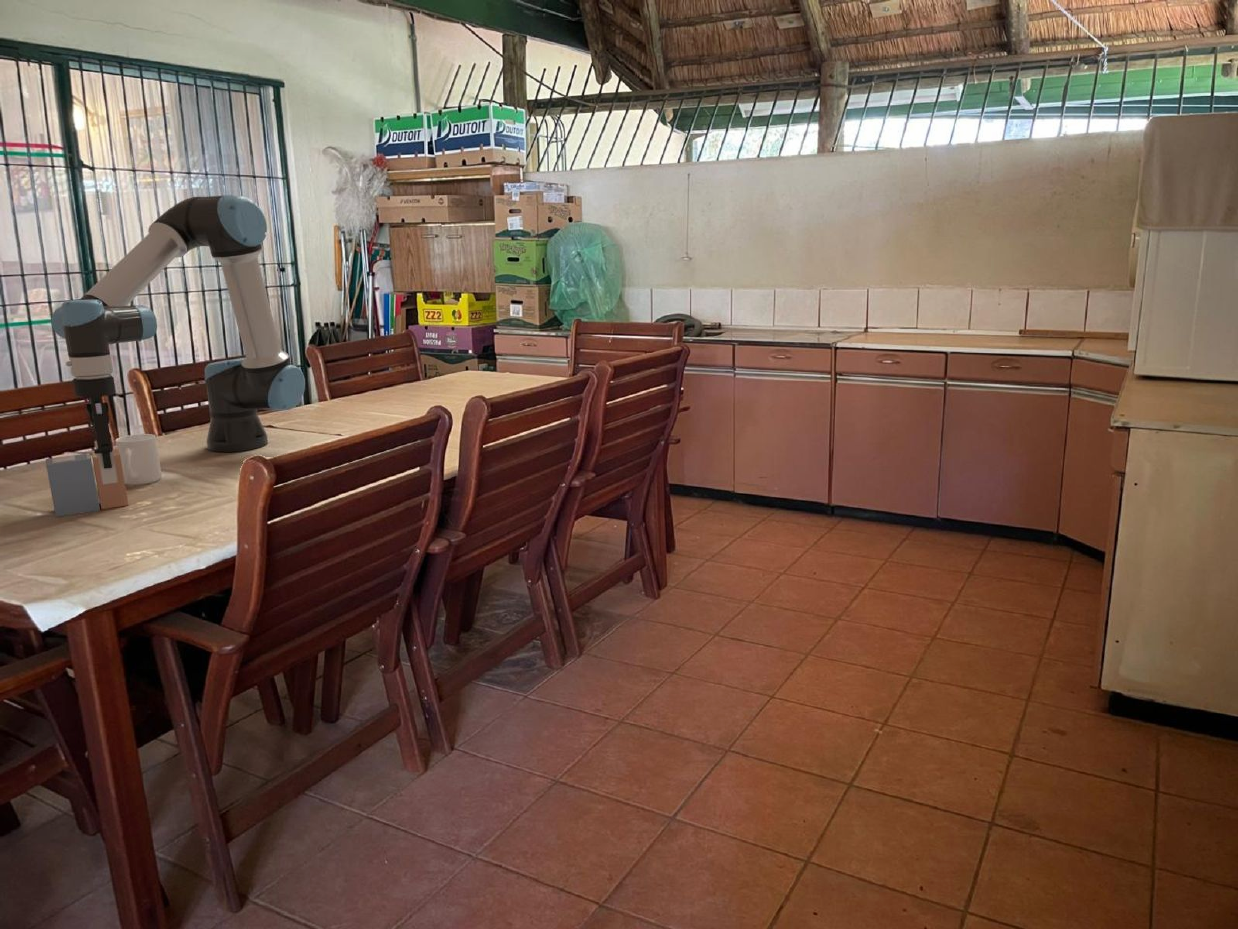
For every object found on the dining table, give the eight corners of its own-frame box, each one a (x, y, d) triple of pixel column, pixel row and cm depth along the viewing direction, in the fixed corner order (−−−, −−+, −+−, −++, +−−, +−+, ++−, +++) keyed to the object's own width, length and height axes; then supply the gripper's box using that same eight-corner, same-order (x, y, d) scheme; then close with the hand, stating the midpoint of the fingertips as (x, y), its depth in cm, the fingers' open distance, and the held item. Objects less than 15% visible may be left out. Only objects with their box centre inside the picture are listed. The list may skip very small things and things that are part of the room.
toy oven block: (98, 503, 198) (89, 452, 195) (100, 510, 193) (91, 458, 190) (55, 509, 194) (45, 458, 191) (55, 516, 189) (45, 464, 186)
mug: (149, 489, 208) (142, 444, 205) (110, 491, 207) (102, 446, 204) (167, 475, 219) (160, 433, 217) (130, 477, 218) (123, 434, 216)
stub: (126, 498, 200) (117, 448, 198) (128, 505, 195) (119, 453, 193) (99, 502, 198) (91, 451, 195) (101, 509, 193) (92, 457, 190)
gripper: (69, 370, 198) (85, 466, 203) (73, 385, 177) (90, 491, 183) (109, 367, 202) (123, 462, 207) (117, 381, 181) (132, 486, 186)
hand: (108, 476), depth 195 cm, fingers open, 13 cm apart
